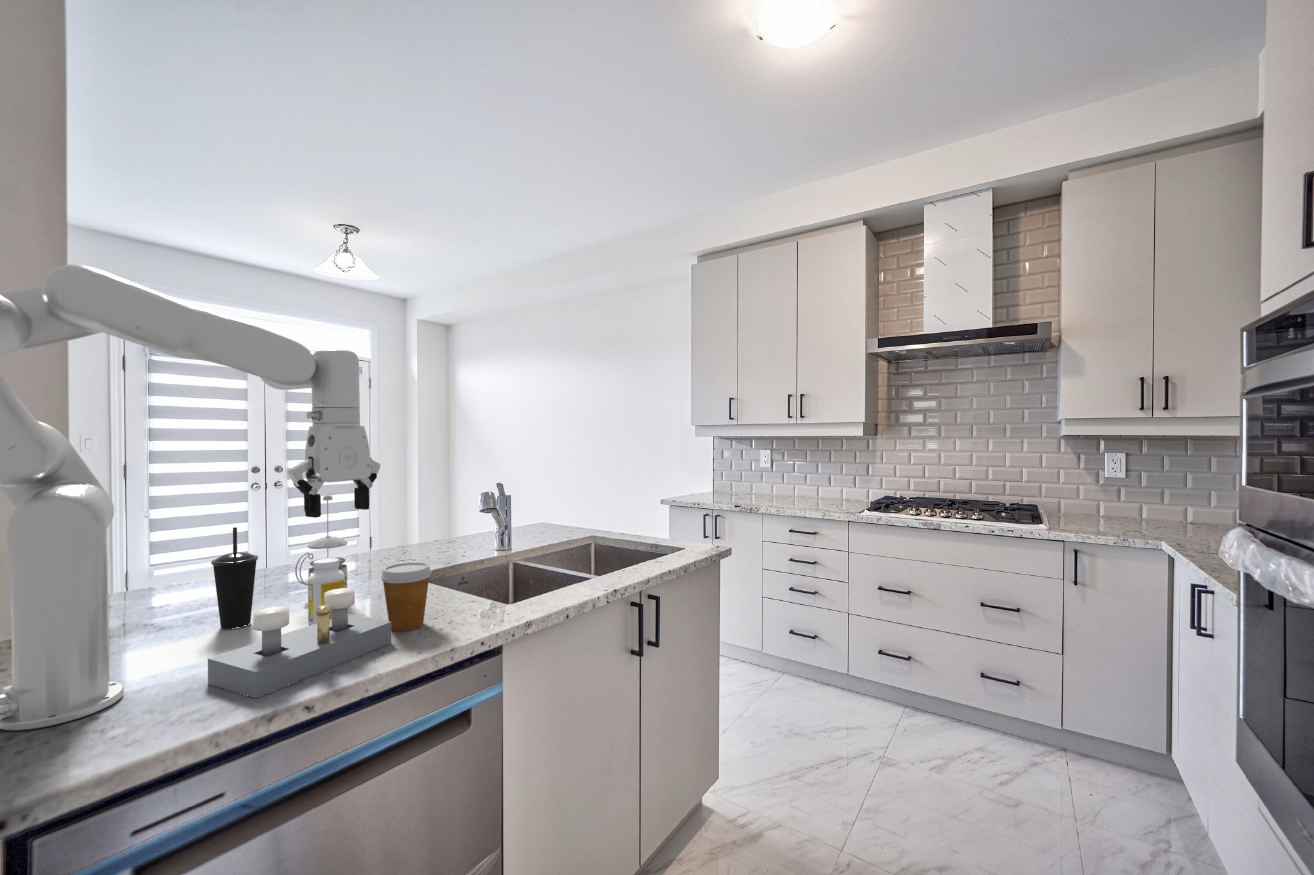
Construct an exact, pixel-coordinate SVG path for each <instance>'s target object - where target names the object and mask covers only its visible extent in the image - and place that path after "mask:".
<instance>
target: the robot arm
mask: <svg viewBox="0 0 1314 875" xmlns="http://www.w3.org/2000/svg"><path fill="white" fill-rule="evenodd" d="M100 333H104V334H106V335H109V336H112V337H115V338H119V339H121V340H124V341H127V342H130V343H133V344H137V345H140V346H142V347H145V348H148V349H151V350H154V351H156V352H160V353H163V354H166V355H169V356H172V357H176V358H180V359H186V360H195V361H197V360H198V361H203V362H210V363H213V364H218V365H221V366H225V367H227V368H231V369H235V370H237V371H240V372H244V373H247V374H250V375H253V376H255V377H259V378H260V379H261V381H262V382H263V383H264V384H266V385H267V386H268V387H271V388H272V389H276V390H280V391H281V390H282V391H291V390H293V391H294V390H300V389H301V390H303V389H311V407H312V408H311V411H307V412H306V418H307V420H311V424H312V426H309V427H308V428H309V429H308V430H307V436H306V444H305V451H304V452H305V453H304V460H303V461H302V462H300V463H298V464H296V465H295V466H293V467H292V468H290V469H289V470H288V471H287V475H288V476H289V478H290V479H291V481H292V484H293V485H294V487H295V488H296V489H298V490H299V493H300V494H301V495H303V503H304V504H303V508H304V509H303V510H304V515H305V517H306V518H320V517H321V516H322V503H321V502H322V501H321V500H322V499H321V493H319V494H318V492H319V490H320V489H321V488H322V486H323V485H324V484H325V483H339V482H348V481H352V482H353V483H354V484H355V486H356V487H354V490H353V492H354V494H353V495H354V500H353V501H354V509H355V510H364V511H365V510H370V489H371V488H372V487H373V484H374V482H375V480H377V478H378V474H379V472H380V469H381V464H380V463H379V462H378V461H375V460H373V459H371V455H370V446H369V440H368V435H367V431H366V428H365V426H364V425H361V407H360V404H361V403H360V402H361V400H360V396H361V395H360V362H359V361H360V360H359V356H358V354H357V353H356V352H353V351H351V350H349V349H348V350H347V349H339V348H320V349H317V350H315V351H310V350H309V349H308V348H307V347H306V346H305V345H303V344H301V343H300V342H299V341H295V340H293V339H291V338H289V337H286V336H283V335H281V334H278V333H276V332H273V331H270V330H267V329H265V328H263V327H260V326H257V325H255V324H251V323H249V322H245V321H242V320H239V319H237V318H233V317H229V316H226V315H223V314H220V313H217V312H215V311H212V310H209V309H207V308H202V307H199V306H196V305H193V304H191V303H188V302H185V301H182V300H180V299H177V298H174V297H172V296H169V295H166V294H163V293H161V292H158V291H156V290H153V289H150V288H148V287H145V286H143V285H140V284H138V283H135V282H132V281H130V280H128V279H125V278H122V277H119V276H117V275H114V274H112V273H109V272H107V271H104V270H101V269H98V268H95V267H91V266H87V265H83V264H65V265H61V266H57V267H55V268H53V269H52V270H51V271H49V272H48V273H47V274H46V276H45V277H44V278H43V280H42V283H41V285H40V286H39V285H38V286H34V287H30V288H29V287H28V288H24V289H19V290H17V289H16V290H11V291H6V292H0V355H8V354H9V355H11V354H16V353H19V352H24V351H28V350H33V349H38V348H41V347H42V348H43V347H46V346H51V345H54V344H60V343H63V342H68V341H73V340H78V339H81V338H85V337H89V336H93V335H98V334H100ZM303 473H304V475H305V478H306V480H305V479H304V476H303ZM0 491H1V492H2V493H3V495H4V496H5V498H6V499H7V500H8V501H9V502H10V504H11V505H12V506H13V507H14V508H13V510H12V511H11V512H10V515H9V517H8V519H7V522H6V527H5V543H6V544H5V545H6V546H5V547H6V553H7V561H8V568H9V582H10V585H9V586H10V609H11V610H10V611H11V613H10V614H11V616H10V618H11V619H10V620H11V685H7V686H3V687H2V694H0V729H1V730H5V731H23V730H24V731H25V730H26V731H27V730H32V729H33V730H36V729H41V728H45V727H50V726H51V727H52V726H55V725H58V724H59V725H60V724H63V723H68V722H71V721H74V720H77V719H81V718H83V717H86V716H89V715H92V714H94V713H97V712H99V711H102V710H103V709H105V708H106V709H107V708H108V707H110V706H112V705H114V704H115V703H116V702H118V701H119V700H120V699H121V698H122V697H123V696H124V695H125V694H124V693H125V691H124V690H125V687H124V685H123V684H122V683H120V682H117V681H111V680H110V627H109V626H110V623H109V622H110V621H109V620H110V616H109V615H110V614H109V611H110V609H109V608H110V606H109V604H110V603H109V599H110V597H109V566H108V564H109V563H108V560H109V559H108V543H107V542H108V540H107V538H108V536H107V534H108V528H109V526H110V525H111V523H112V521H113V518H114V515H115V507H114V502H113V501H112V498H111V497H110V495H109V494H108V492H107V491H106V490H105V488H104V486H103V485H102V484H101V482H100V481H99V480H98V479H97V477H96V475H94V473H93V472H92V471H91V469H90V467H89V466H88V465H87V463H86V462H85V461H84V460H83V458H82V457H81V456H80V454H79V453H78V451H77V450H76V448H75V447H74V446H73V444H72V443H71V442H70V441H69V440H68V439H67V437H66V436H65V435H63V433H62V432H60V431H59V430H58V429H56V428H55V427H53V426H51V425H49V424H47V423H45V422H42V421H38V420H37V419H36V418H35V417H34V415H33V414H32V413H31V411H29V409H28V408H27V406H25V404H24V403H23V401H22V400H21V398H19V396H18V395H17V394H16V392H15V391H14V389H13V387H12V385H11V384H10V383H9V382H8V380H7V379H6V378H5V376H3V374H2V373H1V372H0Z"/></svg>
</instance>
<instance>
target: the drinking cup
mask: <svg viewBox="0 0 1314 875" xmlns="http://www.w3.org/2000/svg"><path fill="white" fill-rule="evenodd" d="M258 559H259V556H258V555H257V554H252V553H248V552H243V551H239V552H238V527H235V526H234V527H232V552H230V553H226V554H223V555H221V556H219V557H217V558H215V559H212V560H211V566H212V567H213V575H214V583H215V592H216V599H217V607H218V616H219V624H220V629H221V630H233V629H232V628H236V627H241V628H243V627H242V626H244V625H247V626H249V625H250V624H251V619H252V609H253V600H254V590H255V580H256V579H255V578H256V568H257V561H258ZM249 623H250V624H249ZM248 624H249V625H248ZM244 627H245V626H244ZM236 629H237V628H236Z"/></svg>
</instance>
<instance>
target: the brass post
mask: <svg viewBox="0 0 1314 875" xmlns="http://www.w3.org/2000/svg"><path fill="white" fill-rule="evenodd" d="M330 612H331V605H321V606H317V607H316V614H317V644H325V643H328V642H329V641H330V622H329V613H330Z"/></svg>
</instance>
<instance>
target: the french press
mask: <svg viewBox="0 0 1314 875" xmlns="http://www.w3.org/2000/svg"><path fill="white" fill-rule="evenodd" d="M322 500H323V501H326V506H327V507H326V516H327V517H326V518H327V519H326V522H327V523H326V526H327V527H326V530H327V531H326V532H327V533H326V534H327V535H326V536H325V537H321V538H318V539H315V540H312V541H311V542H310V543H308V545H307V548H308V549H311V550H323V549H327V550H326V551H327V556H326V557H325V558H323V559H326V558H329V549H335V548H340V547H344V546H347V544H348V542H349V541H348V540H346V539H343V538H341V537H340V538H339V537H338V536H330V535H329V501H333V496H332V495H331V494H326V495H324V496H323V497H322ZM305 555H306V556H305ZM304 556H305V557H304ZM310 556H311V557H310ZM303 557H304V559H303V560H302V561H301V563H300V560H301V559H302V558H303ZM307 558H308V559H309V560H313V559H314V554H313V553H309V552H305V553H304V554H303V555H301V556H300V558H299V559H297V562H296V565H295V567H294V568H295V569H294V571H295V572H294V573H295V577H296V578H295V579H297V582H298V583H300V584H301V585H304V586H307V587H308V583H306V581H305V582H304V579H303V578H302V571H301V570H302V566H303V563H304V561H305V560H306V559H307ZM336 558H337V559H339V567H338V570H340V571H342V572H343V573H344V575H345V588H348V565H347V564H344V563H345V562H346V558H344V557H336ZM320 559H321V558H319V559H314V560H313V561H310V562H309V565H311V566H312V567H310V568H308V574H307V575H308V576H307V577H308V578H309V576H310V575H311V574H313V573H314V571H315V569H314V568H313V562H314V561H316V560H320ZM299 563H300V567H299V570H298V569H297V568H298V564H299ZM298 571H299V577H298ZM308 578H307V579H308ZM303 606H305V608H304V609H306V608H308V600H307V601H306V602H305V603H304V605H303Z"/></svg>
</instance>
